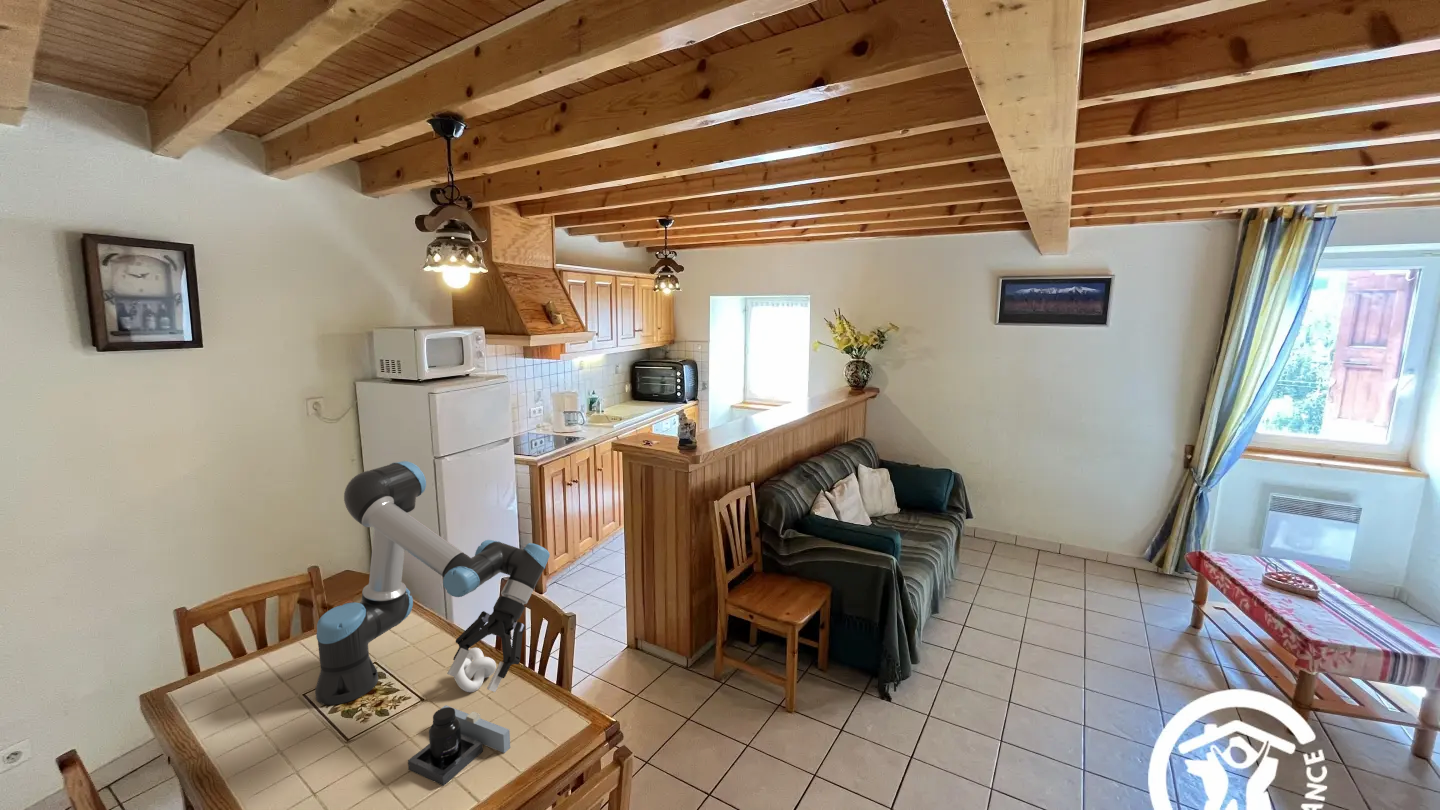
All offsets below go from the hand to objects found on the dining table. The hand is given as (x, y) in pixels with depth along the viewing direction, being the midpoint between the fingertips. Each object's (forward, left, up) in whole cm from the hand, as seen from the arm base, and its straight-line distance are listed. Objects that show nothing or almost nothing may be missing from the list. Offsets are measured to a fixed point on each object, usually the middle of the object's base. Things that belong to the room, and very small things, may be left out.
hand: (470, 683), depth 141 cm
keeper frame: (-1, -8, -16) cm, 17 cm away
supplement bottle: (-1, -8, -15) cm, 17 cm away
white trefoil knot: (-18, +17, -16) cm, 29 cm away
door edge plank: (-1, +1, -16) cm, 16 cm away
